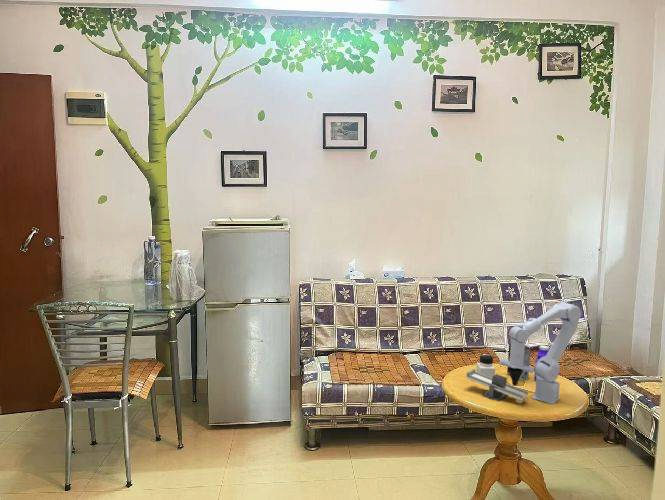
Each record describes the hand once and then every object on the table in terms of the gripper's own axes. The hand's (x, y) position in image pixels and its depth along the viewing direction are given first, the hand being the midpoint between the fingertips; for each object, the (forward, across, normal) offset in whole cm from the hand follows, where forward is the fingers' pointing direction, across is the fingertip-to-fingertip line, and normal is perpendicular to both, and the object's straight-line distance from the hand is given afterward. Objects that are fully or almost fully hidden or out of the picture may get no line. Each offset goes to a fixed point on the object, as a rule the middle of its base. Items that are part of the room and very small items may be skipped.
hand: (514, 384), depth 231 cm
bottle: (+8, +1, +32) cm, 33 cm away
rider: (+2, -7, 0) cm, 8 cm away
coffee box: (+8, -10, +30) cm, 33 cm away
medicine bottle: (+8, -20, +15) cm, 26 cm away
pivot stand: (+7, -8, 0) cm, 11 cm away
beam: (+5, -9, 0) cm, 10 cm away
